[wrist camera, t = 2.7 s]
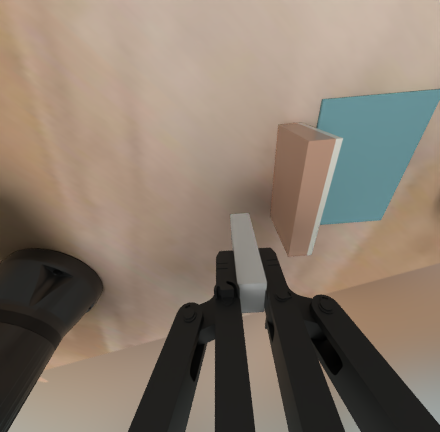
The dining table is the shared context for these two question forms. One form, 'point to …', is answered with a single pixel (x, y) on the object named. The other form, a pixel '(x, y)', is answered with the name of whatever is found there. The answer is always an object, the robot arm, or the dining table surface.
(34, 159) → the dining table surface
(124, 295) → the dining table surface
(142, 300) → the dining table surface
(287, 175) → the tile
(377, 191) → the felt mat
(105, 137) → the dining table surface
